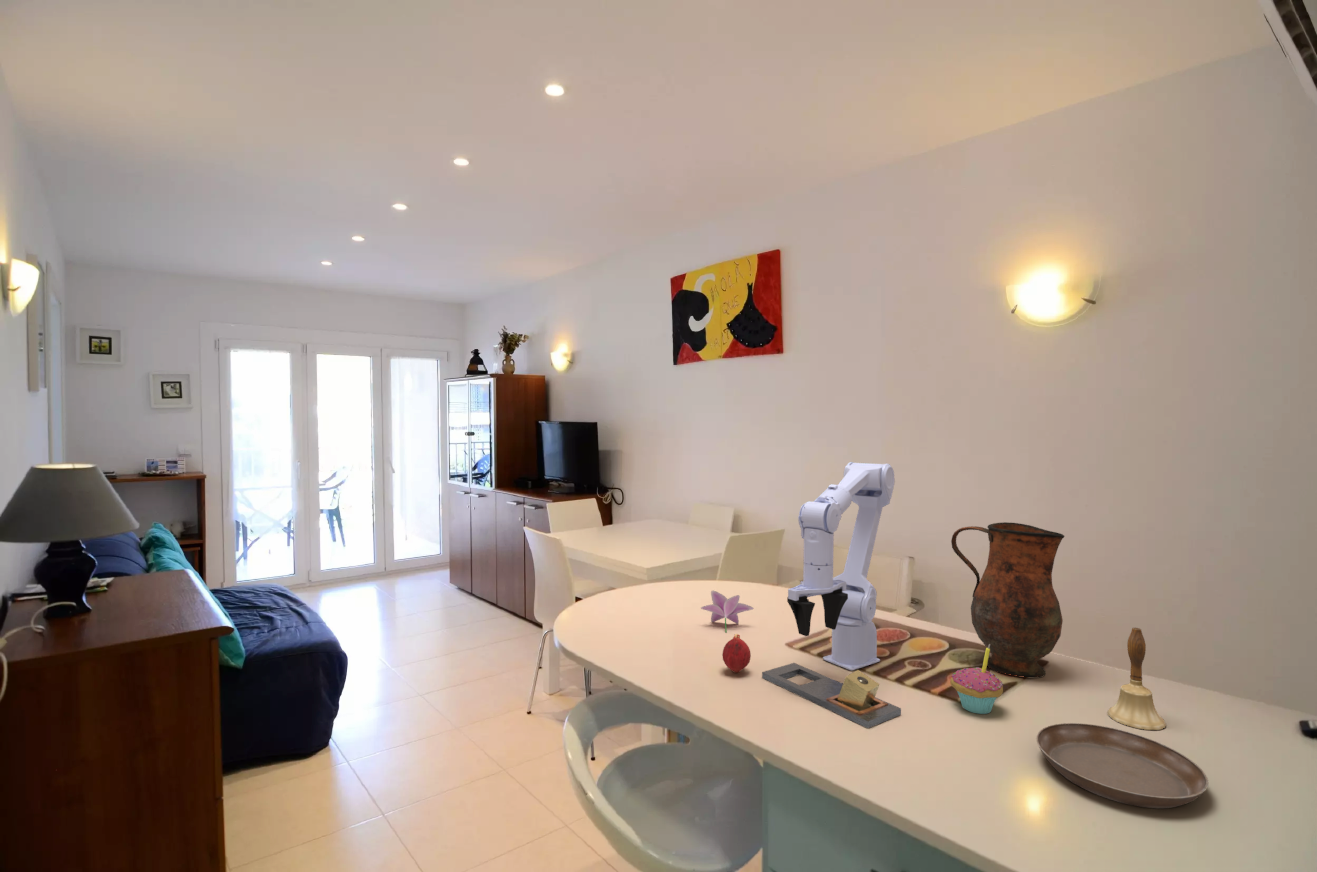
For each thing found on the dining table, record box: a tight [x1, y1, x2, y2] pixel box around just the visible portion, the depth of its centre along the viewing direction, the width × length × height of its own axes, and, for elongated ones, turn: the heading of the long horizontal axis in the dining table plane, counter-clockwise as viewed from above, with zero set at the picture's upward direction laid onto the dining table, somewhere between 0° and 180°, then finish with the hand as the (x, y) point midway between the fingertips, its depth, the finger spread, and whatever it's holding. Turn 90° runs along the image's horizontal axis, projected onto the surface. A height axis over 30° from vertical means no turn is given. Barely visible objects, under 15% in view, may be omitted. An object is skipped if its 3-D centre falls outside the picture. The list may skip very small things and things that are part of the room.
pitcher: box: [950, 521, 1065, 678], centre depth 139 cm, size 17×21×30 cm
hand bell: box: [1106, 627, 1167, 731], centre depth 115 cm, size 8×8×16 cm
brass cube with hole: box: [837, 669, 880, 711], centre depth 119 cm, size 4×4×5 cm
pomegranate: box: [721, 633, 752, 674], centre depth 136 cm, size 6×6×8 cm
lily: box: [700, 590, 754, 633], centre depth 164 cm, size 12×12×10 cm
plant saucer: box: [1035, 722, 1209, 809], centre depth 97 cm, size 21×21×3 cm
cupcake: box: [949, 644, 1004, 715], centre depth 119 cm, size 9×8×12 cm
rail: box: [761, 662, 902, 729], centre depth 125 cm, size 9×26×1 cm, turn 34°
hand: (817, 631), depth 130 cm, fingers open, 7 cm apart
